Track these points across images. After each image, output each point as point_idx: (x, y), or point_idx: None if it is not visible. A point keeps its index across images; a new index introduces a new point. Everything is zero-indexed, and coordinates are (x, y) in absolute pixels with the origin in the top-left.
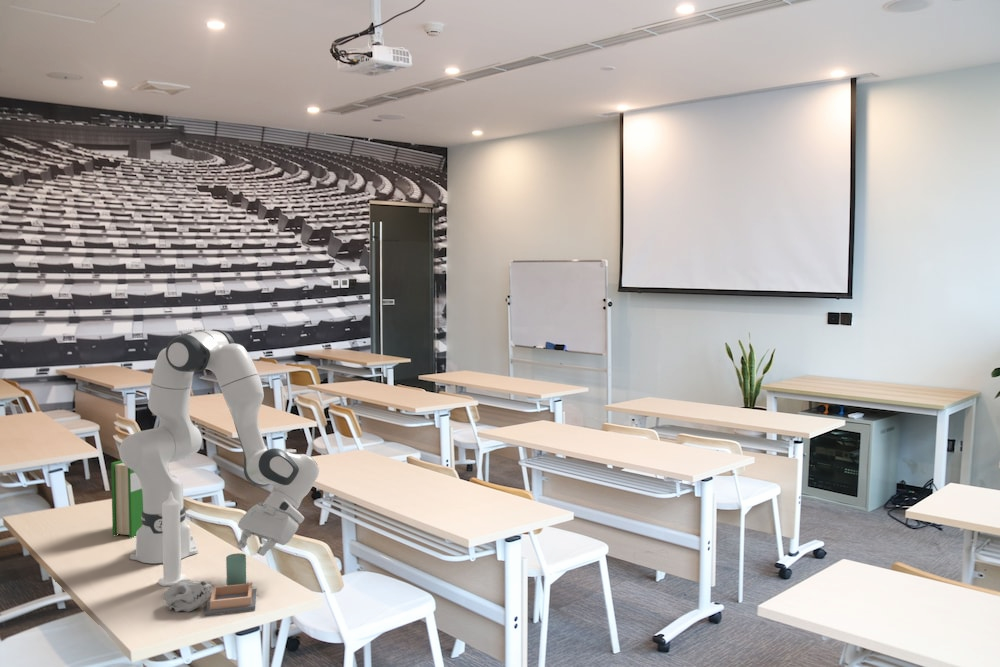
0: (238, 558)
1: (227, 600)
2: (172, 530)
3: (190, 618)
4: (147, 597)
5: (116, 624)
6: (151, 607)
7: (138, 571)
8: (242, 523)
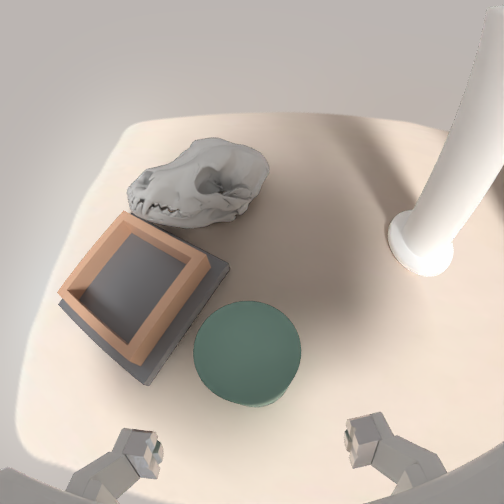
0: (208, 345)
1: (95, 244)
2: (464, 102)
3: None
4: (344, 173)
5: (245, 116)
6: (278, 161)
7: (500, 217)
8: (499, 469)
